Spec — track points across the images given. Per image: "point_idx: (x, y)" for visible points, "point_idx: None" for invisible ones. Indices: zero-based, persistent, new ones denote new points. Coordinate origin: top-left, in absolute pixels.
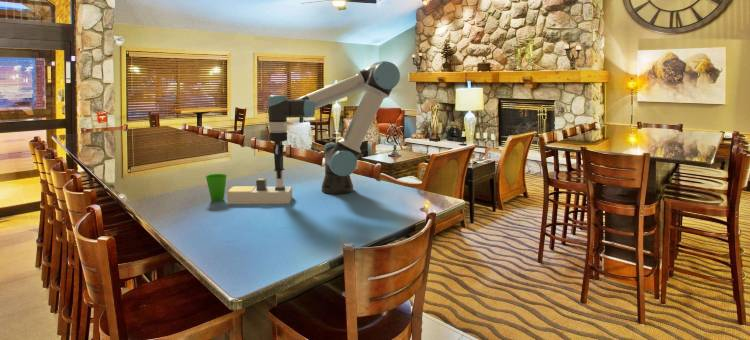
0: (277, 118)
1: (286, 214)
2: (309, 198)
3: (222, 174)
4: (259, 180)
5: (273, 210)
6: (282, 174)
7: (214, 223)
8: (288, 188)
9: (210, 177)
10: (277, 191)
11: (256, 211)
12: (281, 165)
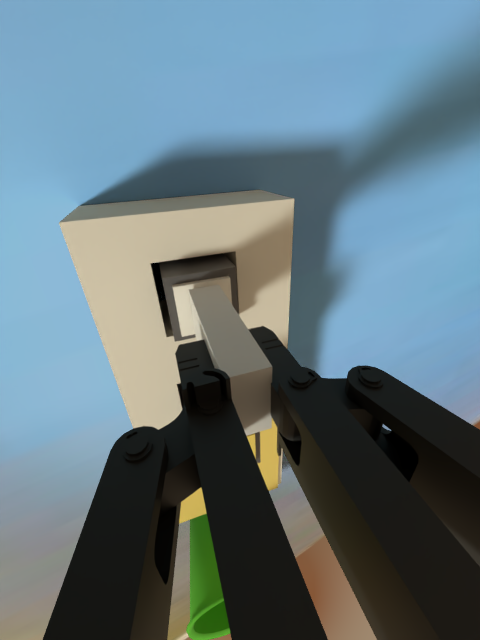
0: None
1: (455, 157)
2: (72, 12)
3: (194, 622)
4: (253, 451)
5: (376, 243)
6: (238, 341)
7: (456, 368)
8: (158, 236)
9: (215, 616)
10: (268, 292)
11: (374, 309)
12: (346, 435)
